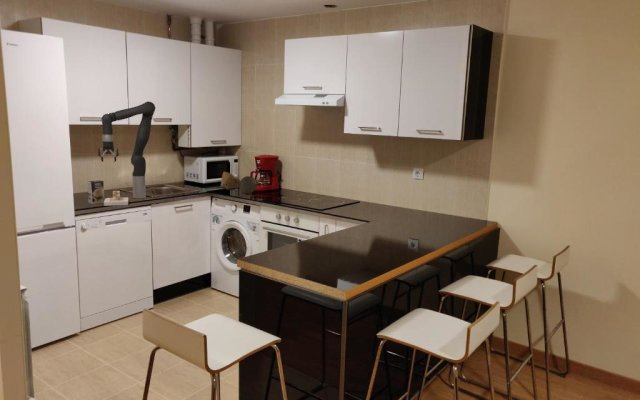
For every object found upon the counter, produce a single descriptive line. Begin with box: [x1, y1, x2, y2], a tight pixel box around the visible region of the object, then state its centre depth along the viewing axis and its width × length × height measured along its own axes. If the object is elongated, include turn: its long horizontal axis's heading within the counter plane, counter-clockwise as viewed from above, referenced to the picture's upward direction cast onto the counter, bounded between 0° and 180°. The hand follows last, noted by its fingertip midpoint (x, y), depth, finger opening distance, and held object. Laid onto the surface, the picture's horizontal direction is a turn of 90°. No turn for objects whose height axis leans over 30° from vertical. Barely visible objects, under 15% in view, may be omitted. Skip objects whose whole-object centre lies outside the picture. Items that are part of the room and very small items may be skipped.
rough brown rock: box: [220, 171, 241, 190], centre depth 439 cm, size 23×17×15 cm
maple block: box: [112, 190, 121, 200], centre depth 356 cm, size 4×4×6 cm
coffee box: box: [87, 179, 105, 205], centre depth 355 cm, size 9×6×16 cm
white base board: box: [103, 196, 129, 206], centre depth 357 cm, size 16×16×3 cm
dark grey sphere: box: [239, 175, 258, 195], centre depth 413 cm, size 14×14×15 cm
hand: (108, 161), depth 371 cm, fingers open, 8 cm apart
